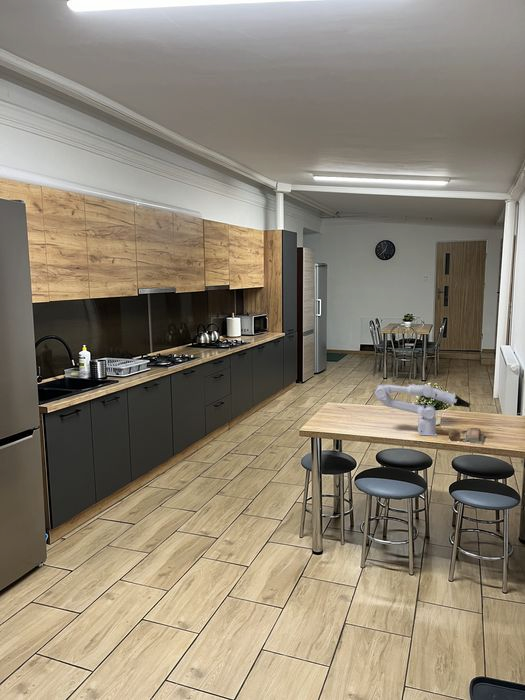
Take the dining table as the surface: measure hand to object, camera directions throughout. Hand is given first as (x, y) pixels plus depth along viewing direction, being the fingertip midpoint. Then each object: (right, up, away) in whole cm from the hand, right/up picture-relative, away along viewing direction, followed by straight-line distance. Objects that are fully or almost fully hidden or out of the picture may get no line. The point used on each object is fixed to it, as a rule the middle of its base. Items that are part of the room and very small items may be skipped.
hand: (468, 405), depth 298 cm
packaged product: (+2, -19, -1) cm, 19 cm away
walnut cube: (-9, -19, -3) cm, 21 cm away
